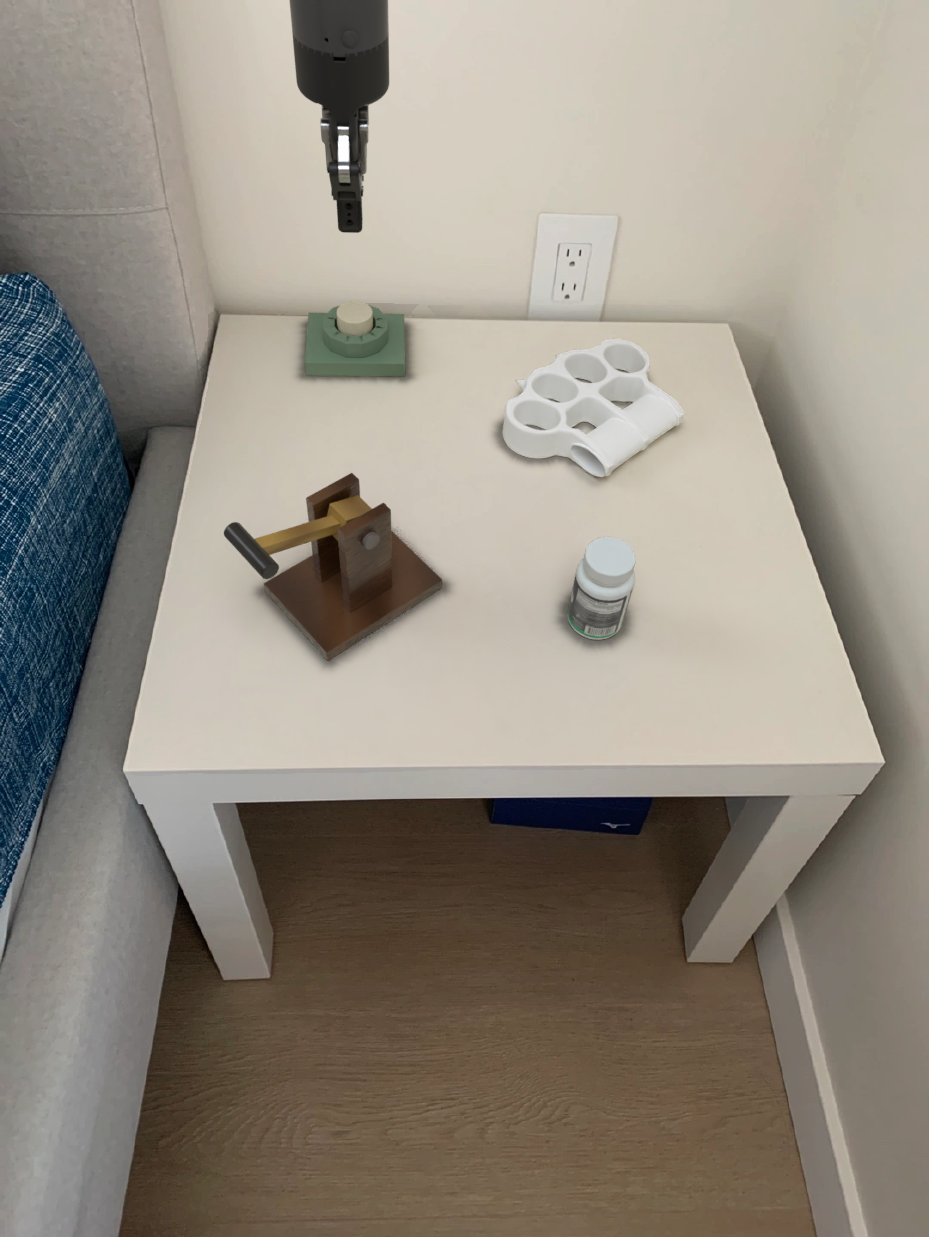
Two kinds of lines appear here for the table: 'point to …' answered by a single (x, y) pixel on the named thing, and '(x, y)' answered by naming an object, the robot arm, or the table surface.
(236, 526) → the switch lever
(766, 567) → the table surface
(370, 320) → the button
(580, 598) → the pill bottle
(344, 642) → the switch bracket
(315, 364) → the button block
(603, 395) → the knuckle duster
